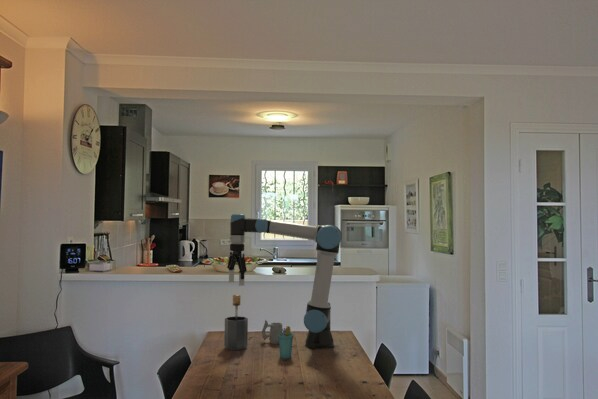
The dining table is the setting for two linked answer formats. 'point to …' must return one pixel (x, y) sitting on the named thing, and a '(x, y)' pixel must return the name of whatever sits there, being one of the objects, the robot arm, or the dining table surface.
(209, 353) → the dining table surface
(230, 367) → the dining table surface
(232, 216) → the robot arm
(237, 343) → the press body
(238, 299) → the plunger
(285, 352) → the cup
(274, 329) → the mug
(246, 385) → the dining table surface
